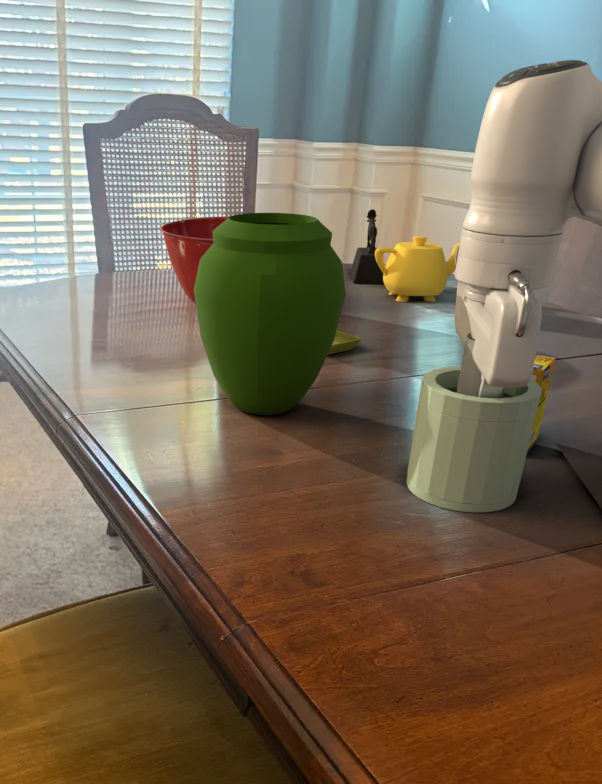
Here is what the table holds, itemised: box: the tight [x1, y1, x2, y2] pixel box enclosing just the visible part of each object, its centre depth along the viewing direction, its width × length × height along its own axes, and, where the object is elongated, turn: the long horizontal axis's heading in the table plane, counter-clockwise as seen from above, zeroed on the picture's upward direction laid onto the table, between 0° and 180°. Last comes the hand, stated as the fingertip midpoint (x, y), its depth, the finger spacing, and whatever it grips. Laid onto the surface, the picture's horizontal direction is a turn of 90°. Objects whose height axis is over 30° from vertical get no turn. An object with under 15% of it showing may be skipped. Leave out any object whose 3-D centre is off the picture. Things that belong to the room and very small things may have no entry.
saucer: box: [327, 329, 362, 356], centre depth 131 cm, size 9×9×2 cm
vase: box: [194, 212, 347, 416], centre depth 101 cm, size 20×20×24 cm
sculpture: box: [349, 208, 385, 285], centre depth 180 cm, size 8×13×15 cm, turn 171°
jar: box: [406, 365, 542, 514], centre depth 82 cm, size 12×12×12 cm
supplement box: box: [526, 354, 556, 455], centre depth 93 cm, size 6×6×11 cm
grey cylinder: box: [457, 333, 505, 398], centre depth 79 cm, size 4×4×10 cm
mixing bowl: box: [160, 216, 230, 305], centre depth 155 cm, size 28×28×16 cm
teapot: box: [375, 235, 460, 303], centre depth 164 cm, size 13×20×12 cm
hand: (478, 401), depth 80 cm, fingers closed on grey cylinder, 4 cm apart
